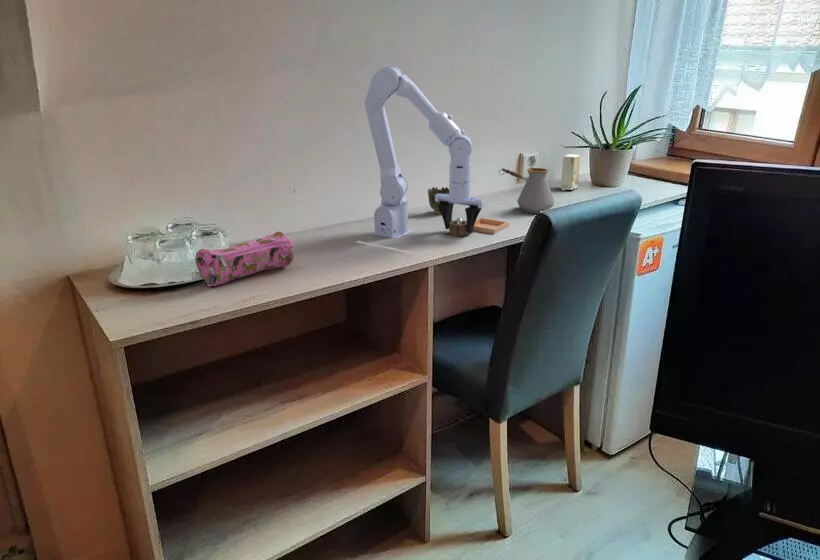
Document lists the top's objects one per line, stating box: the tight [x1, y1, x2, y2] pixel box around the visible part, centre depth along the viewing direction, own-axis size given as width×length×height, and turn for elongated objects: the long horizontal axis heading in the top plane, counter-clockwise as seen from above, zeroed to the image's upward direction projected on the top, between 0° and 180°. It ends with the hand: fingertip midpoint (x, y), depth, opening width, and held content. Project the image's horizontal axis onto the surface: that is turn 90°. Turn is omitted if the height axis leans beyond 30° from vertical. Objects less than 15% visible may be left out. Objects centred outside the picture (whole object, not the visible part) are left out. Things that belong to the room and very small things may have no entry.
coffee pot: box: [498, 167, 555, 214], centre depth 191 cm, size 21×12×15 cm, turn 125°
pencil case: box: [194, 231, 295, 287], centre depth 141 cm, size 21×9×9 cm, turn 132°
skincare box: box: [560, 153, 581, 191], centre depth 221 cm, size 6×4×12 cm
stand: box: [444, 217, 475, 238], centre depth 171 cm, size 6×6×5 cm
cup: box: [427, 186, 449, 216], centre depth 191 cm, size 8×7×8 cm
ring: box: [448, 219, 469, 237], centre depth 171 cm, size 5×5×3 cm
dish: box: [472, 217, 510, 235], centre depth 176 cm, size 9×9×2 cm
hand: (459, 230), depth 171 cm, fingers open, 6 cm apart
